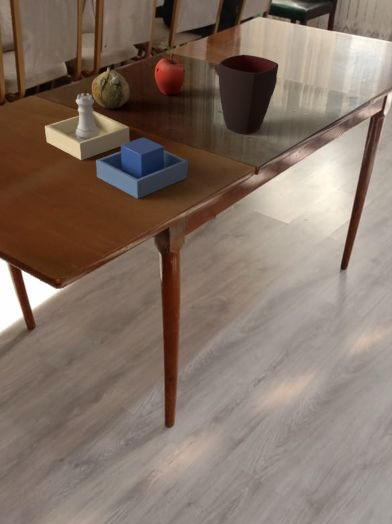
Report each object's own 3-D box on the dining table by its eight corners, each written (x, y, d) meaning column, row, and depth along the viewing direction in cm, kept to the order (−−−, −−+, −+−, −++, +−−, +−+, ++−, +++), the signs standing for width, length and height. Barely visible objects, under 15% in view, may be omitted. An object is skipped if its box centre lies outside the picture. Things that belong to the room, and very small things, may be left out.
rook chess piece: (70, 140, 114) (66, 96, 109) (86, 133, 117) (83, 89, 112) (89, 147, 112) (85, 102, 107) (105, 139, 115) (102, 95, 110)
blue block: (141, 184, 102) (141, 155, 99) (121, 173, 105) (120, 145, 102) (164, 175, 105) (164, 146, 102) (143, 165, 108) (143, 136, 104)
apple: (191, 91, 137) (192, 42, 130) (177, 101, 132) (178, 51, 126) (159, 85, 139) (159, 37, 133) (145, 95, 134) (144, 45, 128)
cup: (207, 128, 122) (211, 63, 114) (247, 109, 130) (253, 47, 123) (249, 142, 118) (256, 76, 110) (288, 122, 126) (297, 59, 118)
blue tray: (137, 199, 100) (137, 181, 98) (97, 177, 105) (95, 160, 103) (187, 177, 106) (187, 160, 104) (146, 158, 111) (146, 141, 109)
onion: (139, 105, 130) (138, 64, 125) (114, 116, 125) (112, 74, 120) (111, 96, 133) (108, 56, 128) (85, 107, 128) (82, 66, 123)
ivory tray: (81, 160, 109) (79, 143, 107) (46, 142, 114) (44, 125, 112) (129, 143, 116) (129, 127, 114) (94, 126, 121) (93, 110, 119)
